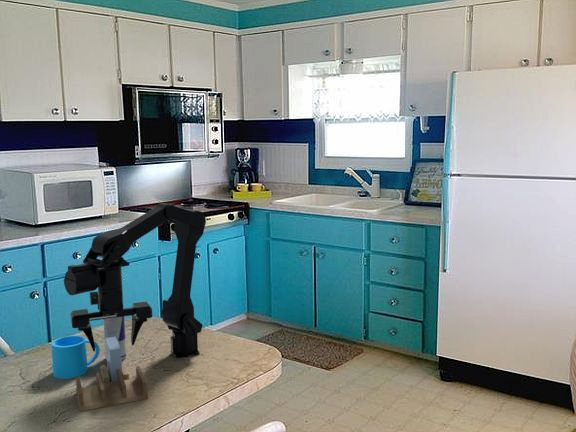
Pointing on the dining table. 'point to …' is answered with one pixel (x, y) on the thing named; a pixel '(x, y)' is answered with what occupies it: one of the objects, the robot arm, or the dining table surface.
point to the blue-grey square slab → (113, 358)
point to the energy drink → (116, 332)
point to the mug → (71, 356)
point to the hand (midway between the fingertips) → (113, 347)
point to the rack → (111, 391)
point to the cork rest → (106, 376)
